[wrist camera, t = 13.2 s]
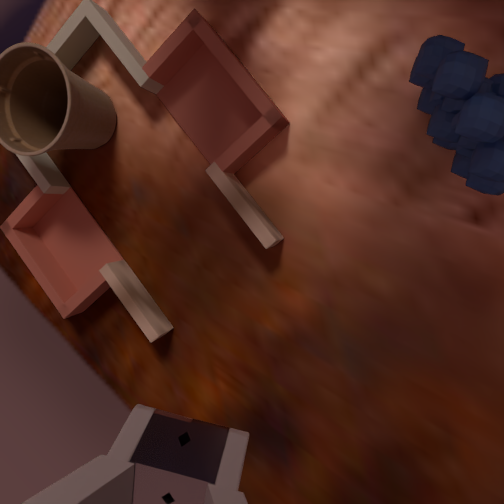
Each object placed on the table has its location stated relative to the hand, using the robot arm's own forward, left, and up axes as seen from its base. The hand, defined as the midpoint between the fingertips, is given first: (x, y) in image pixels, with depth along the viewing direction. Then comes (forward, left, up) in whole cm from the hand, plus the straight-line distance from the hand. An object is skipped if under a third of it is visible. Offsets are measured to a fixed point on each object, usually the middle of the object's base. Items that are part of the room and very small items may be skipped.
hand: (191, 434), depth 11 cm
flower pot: (-17, -24, -29) cm, 41 cm away
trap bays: (-10, -19, -29) cm, 36 cm away
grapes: (-11, +11, -29) cm, 33 cm away
